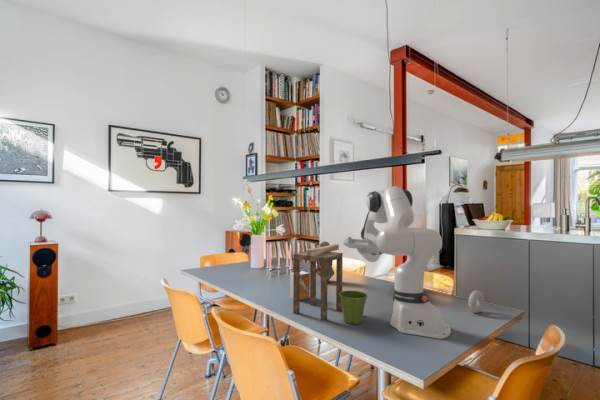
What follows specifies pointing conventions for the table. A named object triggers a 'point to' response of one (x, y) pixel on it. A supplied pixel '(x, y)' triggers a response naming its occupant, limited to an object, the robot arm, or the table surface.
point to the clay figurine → (329, 269)
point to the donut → (476, 301)
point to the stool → (324, 261)
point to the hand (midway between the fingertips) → (357, 238)
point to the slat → (322, 249)
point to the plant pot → (353, 306)
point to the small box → (301, 285)
